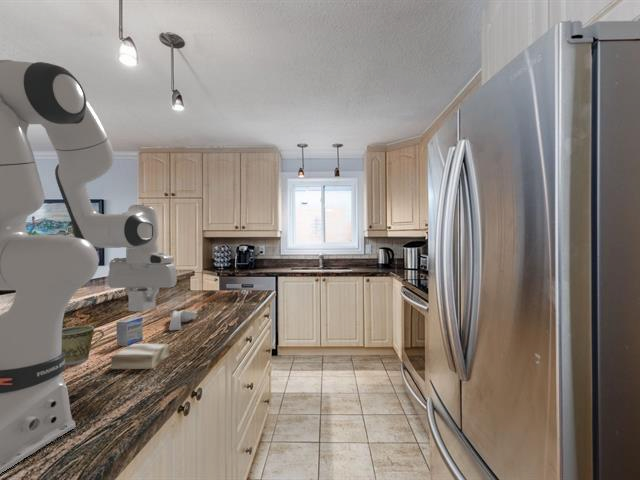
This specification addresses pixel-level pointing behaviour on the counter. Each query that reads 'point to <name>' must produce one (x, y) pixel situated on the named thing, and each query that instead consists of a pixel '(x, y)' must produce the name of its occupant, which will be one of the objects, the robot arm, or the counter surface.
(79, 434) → the counter surface
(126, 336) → the medicine box
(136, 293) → the block
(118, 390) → the counter surface
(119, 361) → the stand
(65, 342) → the ceramic cup
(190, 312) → the spoon rest
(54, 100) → the robot arm
